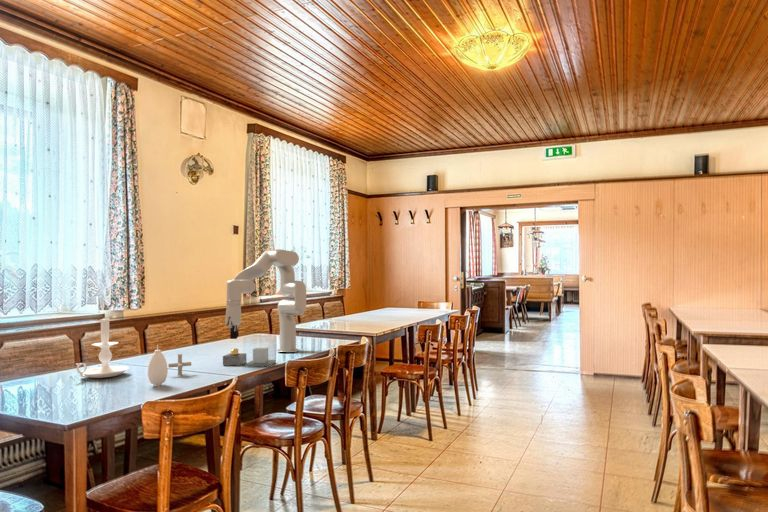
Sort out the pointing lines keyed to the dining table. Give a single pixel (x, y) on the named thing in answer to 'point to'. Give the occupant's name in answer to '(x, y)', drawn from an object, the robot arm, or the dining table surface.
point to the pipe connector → (179, 364)
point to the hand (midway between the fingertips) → (233, 338)
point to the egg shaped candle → (157, 368)
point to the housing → (260, 355)
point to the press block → (234, 359)
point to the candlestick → (103, 357)
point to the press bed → (260, 363)
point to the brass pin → (234, 351)
